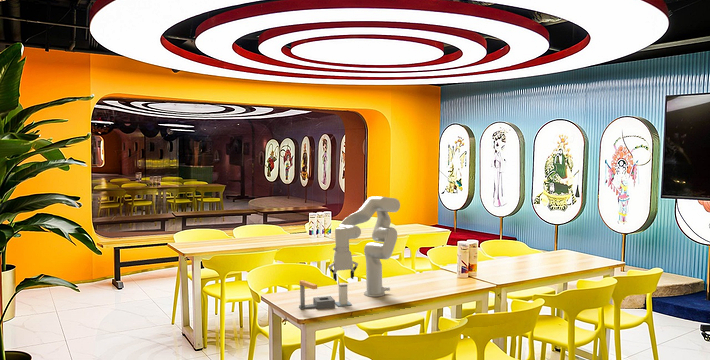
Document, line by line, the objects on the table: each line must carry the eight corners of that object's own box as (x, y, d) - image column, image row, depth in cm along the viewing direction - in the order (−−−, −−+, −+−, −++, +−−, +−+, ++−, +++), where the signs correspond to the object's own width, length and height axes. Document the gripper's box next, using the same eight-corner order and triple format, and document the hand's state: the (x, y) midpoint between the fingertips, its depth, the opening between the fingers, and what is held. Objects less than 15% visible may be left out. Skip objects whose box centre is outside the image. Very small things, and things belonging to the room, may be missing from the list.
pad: (348, 301, 287) (348, 300, 287) (352, 305, 280) (352, 304, 280) (334, 303, 285) (334, 302, 285) (338, 306, 278) (338, 305, 278)
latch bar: (317, 288, 265) (317, 284, 265) (312, 289, 263) (312, 285, 263) (303, 283, 278) (303, 280, 278) (298, 284, 276) (298, 280, 276)
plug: (345, 302, 285) (345, 282, 285) (347, 303, 281) (347, 284, 281) (338, 302, 284) (338, 283, 284) (340, 304, 280) (340, 284, 280)
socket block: (330, 303, 286) (330, 280, 285) (335, 307, 276) (334, 284, 276) (298, 306, 280) (298, 283, 280) (301, 310, 271) (301, 287, 271)
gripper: (329, 251, 276) (330, 282, 277) (359, 248, 281) (360, 279, 282) (325, 249, 283) (327, 279, 284) (355, 246, 288) (356, 276, 289)
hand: (343, 279), depth 283 cm, fingers open, 9 cm apart
